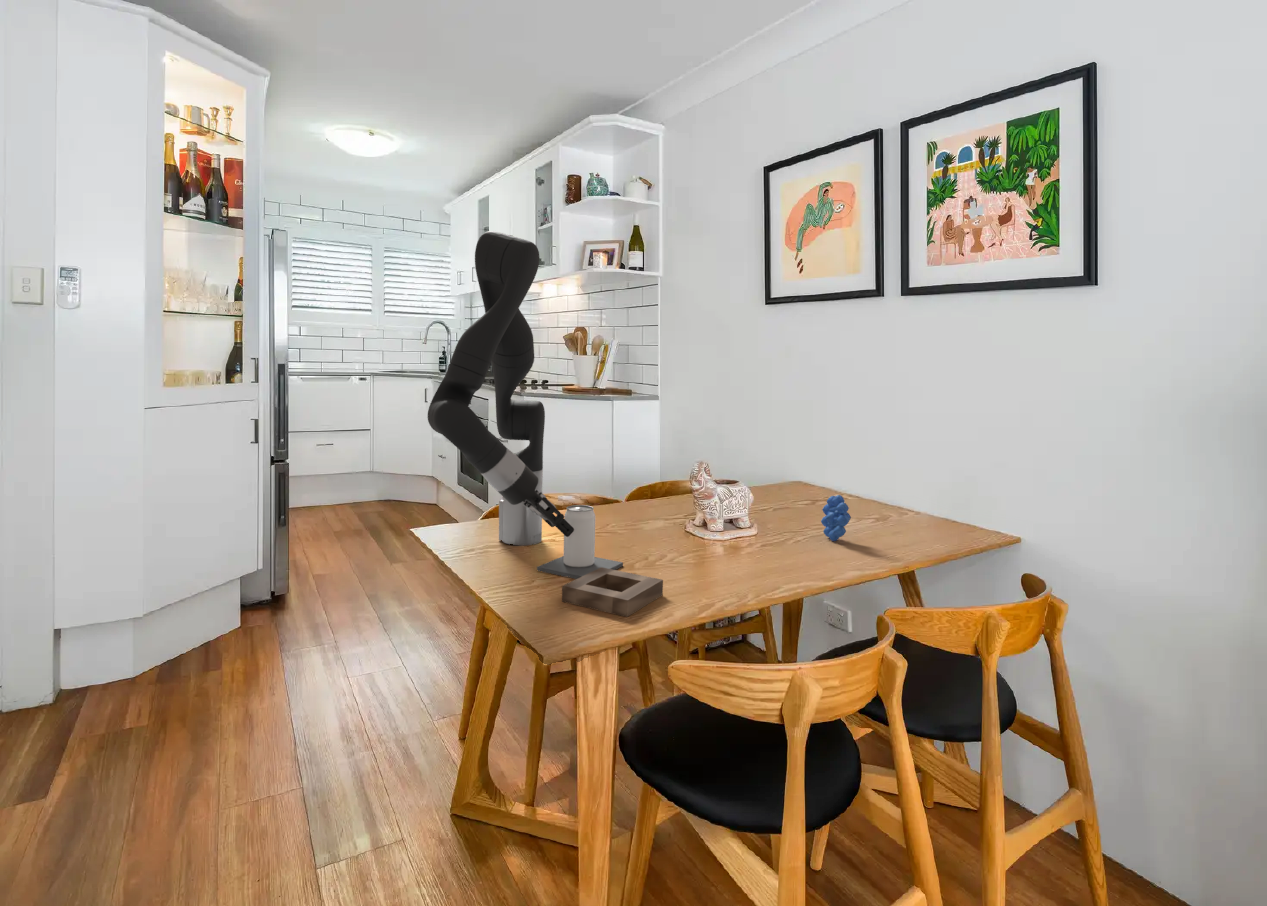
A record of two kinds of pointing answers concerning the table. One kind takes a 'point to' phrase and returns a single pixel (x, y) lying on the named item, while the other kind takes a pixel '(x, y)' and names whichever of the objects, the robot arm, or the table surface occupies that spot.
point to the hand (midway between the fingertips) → (562, 528)
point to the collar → (600, 595)
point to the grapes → (835, 517)
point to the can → (580, 537)
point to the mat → (566, 571)
